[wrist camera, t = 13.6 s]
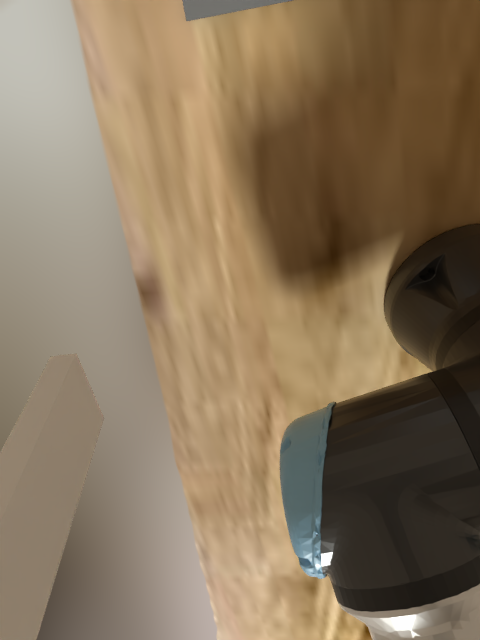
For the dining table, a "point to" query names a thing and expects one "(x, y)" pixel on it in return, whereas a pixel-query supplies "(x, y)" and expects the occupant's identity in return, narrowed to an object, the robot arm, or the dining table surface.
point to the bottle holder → (221, 7)
